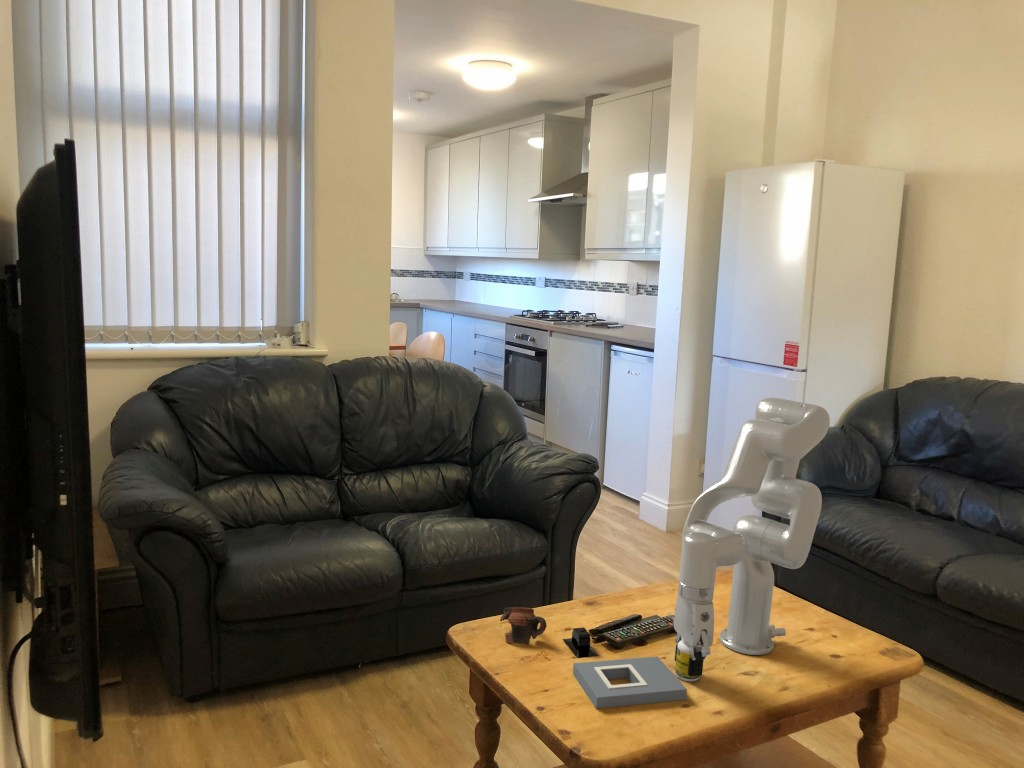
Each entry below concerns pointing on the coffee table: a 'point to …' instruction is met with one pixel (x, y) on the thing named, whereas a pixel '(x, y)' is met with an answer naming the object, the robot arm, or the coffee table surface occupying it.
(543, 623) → the pottery mug
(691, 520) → the robot arm
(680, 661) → the supplement bottle
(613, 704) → the board
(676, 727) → the coffee table surface
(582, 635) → the black stand
